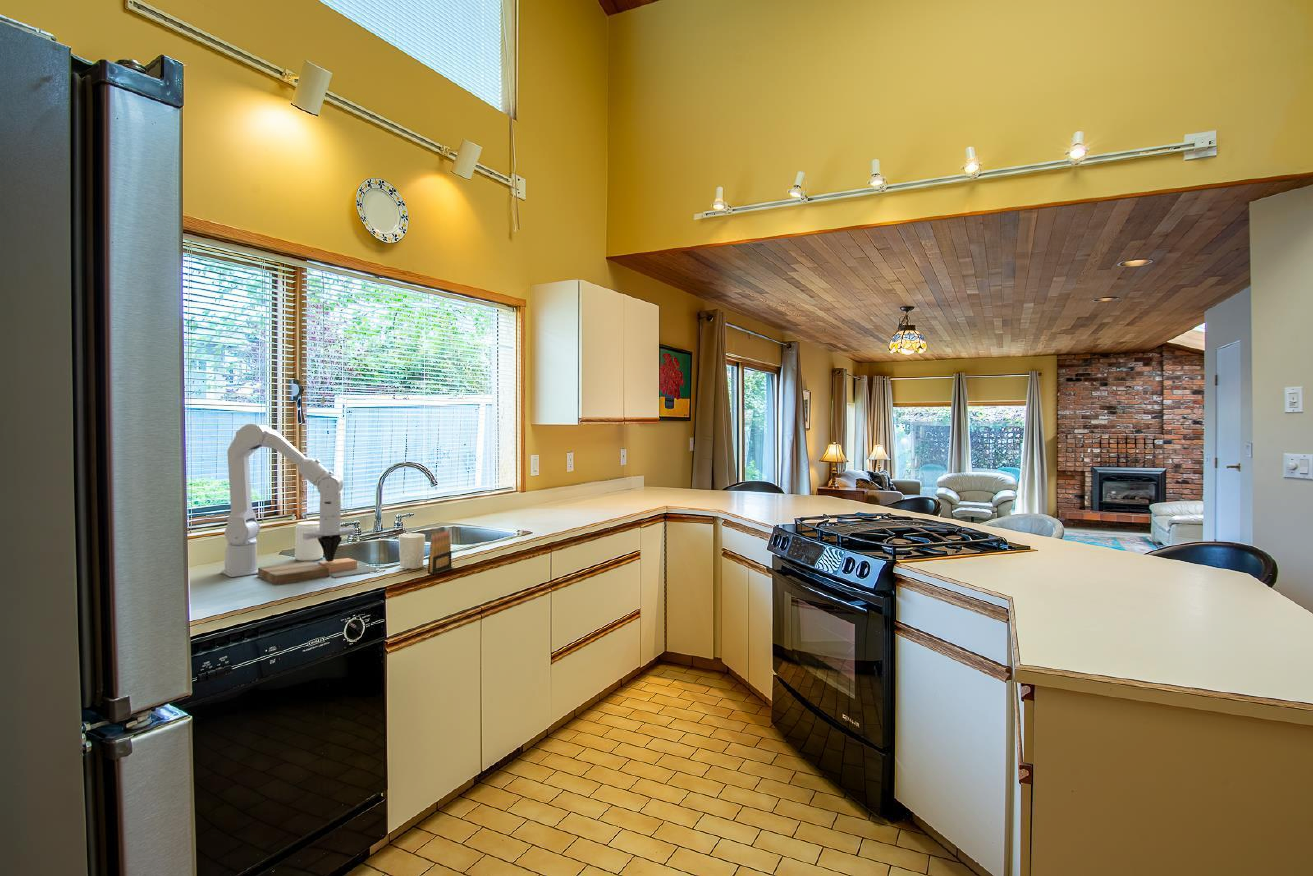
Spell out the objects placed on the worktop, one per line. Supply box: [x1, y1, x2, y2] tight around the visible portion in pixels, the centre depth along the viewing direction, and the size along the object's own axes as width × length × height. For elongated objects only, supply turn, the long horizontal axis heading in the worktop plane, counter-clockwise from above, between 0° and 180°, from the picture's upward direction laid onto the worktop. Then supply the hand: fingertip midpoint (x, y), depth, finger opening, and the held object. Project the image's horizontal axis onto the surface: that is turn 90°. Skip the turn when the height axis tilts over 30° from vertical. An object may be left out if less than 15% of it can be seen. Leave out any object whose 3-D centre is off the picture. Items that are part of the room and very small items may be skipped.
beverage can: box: [294, 520, 324, 562], centre depth 215 cm, size 8×8×12 cm
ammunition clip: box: [427, 529, 453, 575], centre depth 203 cm, size 11×2×12 cm, turn 168°
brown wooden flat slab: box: [257, 561, 330, 586], centre depth 190 cm, size 14×14×2 cm
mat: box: [329, 560, 380, 579], centre depth 200 cm, size 18×15×1 cm
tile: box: [317, 557, 358, 572], centre depth 199 cm, size 6×9×2 cm, turn 138°
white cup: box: [398, 532, 426, 570], centre depth 206 cm, size 8×8×10 cm
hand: (329, 561), depth 197 cm, fingers closed
